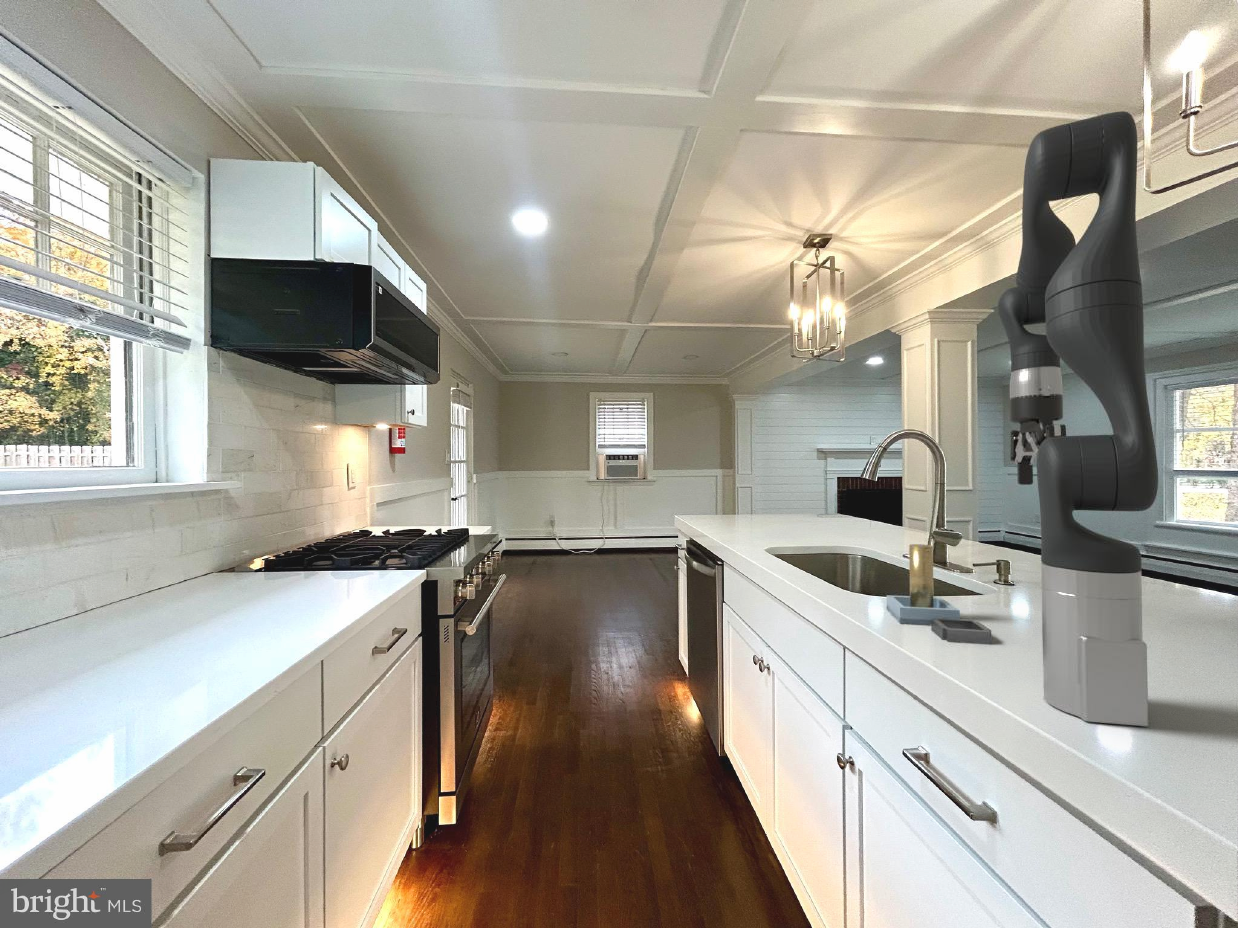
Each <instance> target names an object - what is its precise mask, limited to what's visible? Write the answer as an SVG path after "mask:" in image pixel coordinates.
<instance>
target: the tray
mask: <svg viewBox="0 0 1238 928" xmlns="http://www.w3.org/2000/svg"><path fill="white" fill-rule="evenodd" d="M887 610H888V611H887ZM886 611H887V612H888V613H889V612H890V613H891V614H890V613H889V614H890V615H891V616H892V617H893V618H894V619H895V620H896V622H898V623H899V624H900V625H919V626H921V625H922V626H931V619H933V618H949V619H961V615H960V614H961V610H960V609H959V608H957V607H955V606H954V605H952V604H951V603H950V602H948V601H946V600H945V599H944V598H942V597H937V596H935V597H934V608H925V607H910V595H892V594H891V595H888V594H887V595H886Z"/></svg>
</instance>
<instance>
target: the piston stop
mask: <svg viewBox="0 0 1238 928" xmlns="http://www.w3.org/2000/svg"><path fill="white" fill-rule="evenodd" d="M908 549H909V550H908V552H909V553H908V555H909V556H908V557H909V561H908V562H909V596H910V607H925V608H934V546H933V545H931V544H930V545H929V544H921V543H920V544H917V543H916V544H914V543H913V544H909V546H908Z"/></svg>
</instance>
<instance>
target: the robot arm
mask: <svg viewBox="0 0 1238 928" xmlns="http://www.w3.org/2000/svg"><path fill="white" fill-rule="evenodd" d="M1025 158H1026V159H1025V164H1024V172H1023V185H1022V186H1023V187H1022V208H1021V209H1022V211H1021V212H1022V213H1021V215H1022V217H1021V219H1022V220H1021V231H1022V233H1021V236H1022V239H1021V241H1022V243H1021V251H1020V256H1019V261H1018V267H1017V271H1016V276H1015V285H1016V286H1015V287H1014V286H1013V287H1010V288H1008V289H1006V290H1005V291H1004V292H1003V293H1002V294H1001V295H1000V298H999V299H998V301H997V311H998V316H999V318H1000V321H1001V323H1002V326H1003V329H1004V331H1005V333H1006V336H1007V340H1008V344H1009V350H1010V371H1011V372H1010V380H1009V417H1010V418H1009V419H1010V422H1011V423H1013V424H1020V426H1019V429H1011V431H1010V457H1009V458H1010V461H1011V462H1014V463H1015V465H1017V466H1016V467H1017V471H1016V472H1017V483H1018V484H1019V486H1020V485H1022V486H1023V485H1025V486H1026V485H1028V486H1029V485H1032V484H1034V469H1033V468H1034V465H1033V463H1034V460H1035V458H1036V479H1037V488H1038V489H1037V491H1038V499H1039V500H1038V501H1039V511H1040V536H1041V537H1040V541H1041V542H1040V543H1041V544H1040V545H1041V546H1040V549H1041V550H1040V556H1041V557H1040V559H1041V560H1040V561H1041V565H1040V566H1041V567H1040V568H1041V569H1040V570H1041V571H1040V572H1041V577H1040V578H1041V587H1040V588H1041V623H1042V624H1041V626H1042V627H1041V632H1042V633H1041V634H1042V640H1041V641H1042V667H1043V669H1042V671H1043V672H1042V673H1043V674H1042V676H1043V677H1042V678H1043V700H1045V702H1047V703H1048V704H1049V705H1050V706H1052V707H1054V708H1055V709H1058V710H1059V711H1063V712H1065V713H1067V714H1070V715H1072V716H1076V717H1078V718H1080V719H1082V720H1083V721H1085V722H1090V723H1101V724H1102V723H1104V724H1113V725H1114V724H1116V725H1126V726H1127V725H1128V726H1139V727H1149V693H1148V692H1149V690H1148V689H1149V688H1148V683H1149V682H1148V646H1147V644H1146V642H1145V641H1144V640H1143V634H1144V633H1143V600H1142V597H1143V593H1142V592H1143V591H1142V588H1143V587H1142V585H1143V584H1142V554H1141V551H1140V549H1139V548H1138V547H1137V546H1136V545H1134V544H1132V543H1129V542H1126V541H1123V540H1120V539H1116V538H1113V537H1109V536H1106V535H1104V534H1100V533H1099V532H1095V531H1093V530H1091V529H1089V528H1087V527H1085V526H1084V525H1082V524H1080V523H1079V522H1078V521H1077V520H1076V519H1075V518H1074V514H1073V511H1095V512H1096V511H1099V512H1143V511H1148V509H1150V508H1151V507H1152V506H1153V505H1154V503H1155V501H1156V499H1157V494H1158V490H1159V489H1158V488H1159V465H1158V458H1157V451H1156V445H1155V444H1156V443H1155V437H1154V431H1153V424H1152V418H1151V412H1150V411H1151V410H1150V405H1149V400H1148V399H1149V398H1148V391H1147V383H1146V382H1147V381H1146V369H1145V336H1144V335H1145V334H1144V333H1145V331H1144V328H1145V327H1144V303H1143V300H1144V299H1143V287H1142V285H1143V284H1142V277H1141V270H1140V269H1141V268H1140V262H1139V250H1138V237H1137V223H1136V222H1137V221H1136V219H1137V218H1136V216H1137V215H1136V209H1137V180H1138V179H1137V176H1138V130H1137V124H1136V121H1135V119H1134V117H1133V115H1132V114H1131V113H1130V112H1128V111H1122V110H1121V111H1120V110H1119V111H1112V112H1108V113H1103V114H1100V115H1097V116H1096V115H1095V116H1093V117H1087V118H1083V119H1081V120H1075V121H1072V122H1068V123H1064V124H1060V125H1057V126H1053V127H1049V128H1046V129H1044V130H1041V131H1040V132H1038V133H1037V134H1036V135H1035V136H1034V138H1032V141H1031V143H1030V145H1029V147H1028V150H1027V154H1026V157H1025ZM1092 194H1097V196H1098V197H1099V199H1098V201H1099V202H1098V207H1097V208H1096V212H1095V213H1094V216H1093V218H1092V219H1091V221H1090V223H1089V224H1088V226H1087V228H1086V229H1085V232H1084V233H1083V234H1082V236H1081V237H1080V238H1079V240H1078V241H1077V242H1076V238H1075V235H1074V234H1073V232H1072V230H1071V229H1070V228H1069V227H1068V226H1067V225H1066V223H1064V222H1063V221H1062V220H1061V219H1060V218H1059V217H1058V216H1057V215H1056V213H1055V211H1053V209H1052V208H1051V205H1050V202H1054V201H1056V202H1057V201H1060V200H1067V199H1073V198H1076V197H1081V196H1087V195H1092ZM1039 324H1045V332H1046V334H1039V333H1033V332H1029V331H1028V330H1027V329H1026V328H1025V326H1029V325H1030V326H1031V325H1032V326H1033V325H1039ZM1061 361H1062V362H1063V363H1064V364H1065V365H1066V366H1067V367H1068V368H1069V369H1070V370H1071V371H1073V373H1074V374H1075V375H1076V376H1077V377H1079V378H1080V379H1081V380H1082V381H1083V383H1084V384H1085V385H1086V386H1088V388H1089V389H1090V390H1091V392H1092V393H1093V394H1094V395H1095V397H1096V398H1097V399H1098V400H1099V402H1100V404H1101V405H1102V407H1103V409H1104V410H1105V412H1106V414H1107V417H1108V420H1109V422H1110V425H1111V428H1112V434H1092V435H1091V434H1090V435H1089V434H1087V435H1067V428H1066V427H1067V426H1066V425H1065V424H1059V423H1056V424H1054V422H1059V421H1061V420H1062V419H1063V418H1064V400H1063V397H1064V395H1063V377H1062V372H1061Z"/></svg>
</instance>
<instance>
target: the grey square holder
mask: <svg viewBox="0 0 1238 928" xmlns="http://www.w3.org/2000/svg"><path fill="white" fill-rule="evenodd" d="M930 626H931V631H932V633H934V634H935V635H936V636H937V637H939V639H941V640H944V641H946V642H948V643H951V642H952V643H963V644H964V643H966V644H968V643H969V644H980V645H982V644H983V645H991V644H992V629H990V628H988V627H987V626H986V625H984V624H983V623H981V622H979V620H978V621H977V620H974V619H968V618H967V619H966V618H964V619H963V618H960V619H949V618H933V619H931V625H930Z"/></svg>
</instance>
